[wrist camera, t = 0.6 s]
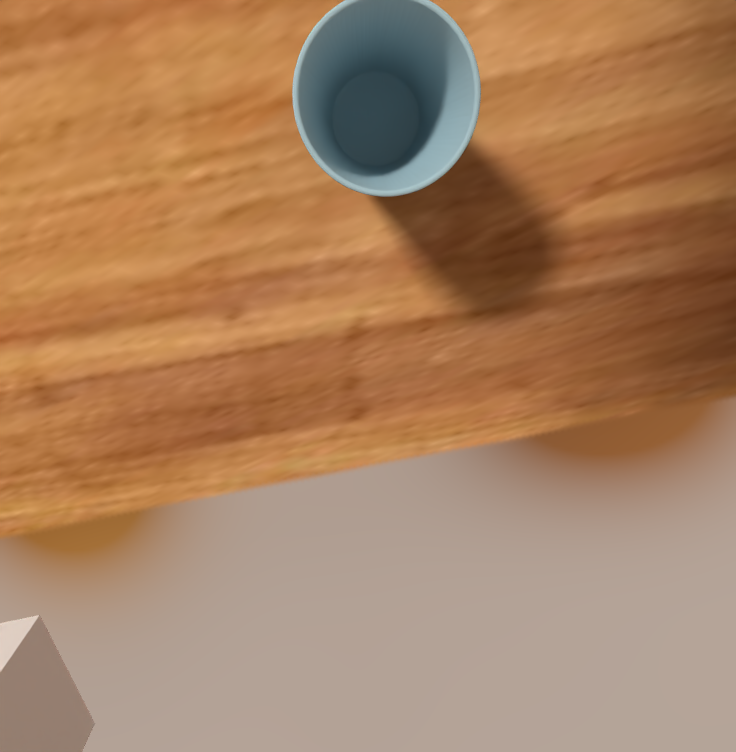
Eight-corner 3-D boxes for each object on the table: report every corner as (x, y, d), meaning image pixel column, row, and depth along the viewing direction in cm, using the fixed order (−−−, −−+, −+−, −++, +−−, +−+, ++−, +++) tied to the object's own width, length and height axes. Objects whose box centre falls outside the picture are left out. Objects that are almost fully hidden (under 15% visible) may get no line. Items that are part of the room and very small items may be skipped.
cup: (442, 189, 35) (480, 192, 25) (314, 195, 35) (300, 201, 25) (441, 45, 33) (482, -14, 23) (303, 51, 33) (284, -5, 23)
